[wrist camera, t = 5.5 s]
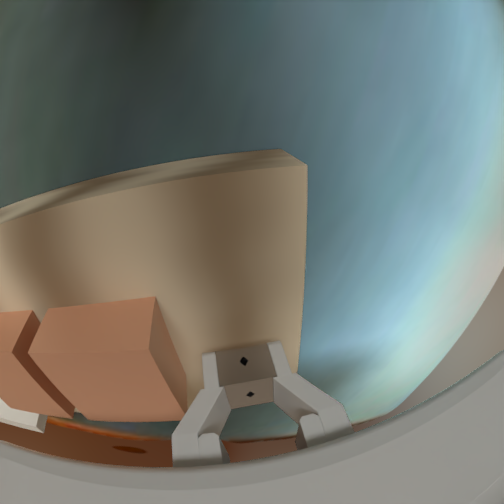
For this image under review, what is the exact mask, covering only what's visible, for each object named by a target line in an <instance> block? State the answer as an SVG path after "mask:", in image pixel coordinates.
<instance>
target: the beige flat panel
mask: <svg viewBox="0 0 504 504" xmlns="http://www.w3.org/2000/svg"><path fill="white" fill-rule="evenodd" d="M306 232H307V165H306V164H305V163H303V162H301V161H300V160H298V159H297V158H295V157H293V156H292V155H290V154H288V153H287V152H285V151H283V150H282V149H272V150H259V151H249V152H239V153H230V154H221V155H214V156H206V157H199V158H192V159H186V160H180V161H174V162H168V163H162V164H157V165H152V166H147V167H142V168H137V169H132V170H127V171H123V172H118V173H114V174H110V175H106V176H102V177H98V178H94V179H90V180H86V181H82V182H79V183H75V184H72V185H68V186H65V187H61V188H58V189H55V190H52V191H48V192H45V193H42V194H39V195H36V196H33V197H30V198H27V199H24V200H22V201H19V202H16V203H13V204H11V205H8V206H5V207H3V208H0V312H13V311H25V310H33V311H34V313H35V315H36V316H37V318H38V320H39V321H40V323H41V322H42V320H43V318H44V316H45V314H46V312H47V310H48V308H58V307H68V306H78V305H87V304H96V303H105V302H113V301H122V300H130V299H138V298H146V297H154V296H156V299H157V302H158V305H159V308H160V311H161V313H162V316H163V319H164V322H165V324H166V327H167V329H168V332H169V335H170V337H171V340H172V342H173V345H174V347H175V350H176V352H177V355H178V357H179V359H180V362H181V364H182V366H183V369H184V371H185V373H186V383H187V405H188V409H189V407H190V406H191V404H192V402H193V401H194V399H195V398H196V396H197V394H198V393H199V391H200V389H204V380H203V368H202V353H208V352H215V351H223V350H231V349H238V348H242V347H247V346H252V345H257V344H262V343H269V342H274V341H279V340H280V342H281V343H282V346H283V349H284V352H285V355H286V357H287V360H288V363H289V366H290V369H291V372H292V373H297V370H298V360H299V349H300V338H301V326H302V312H303V297H304V280H305V259H306ZM74 412H80V411H79V410H78V409H77V408H76V407H75V410H74Z"/></svg>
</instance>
